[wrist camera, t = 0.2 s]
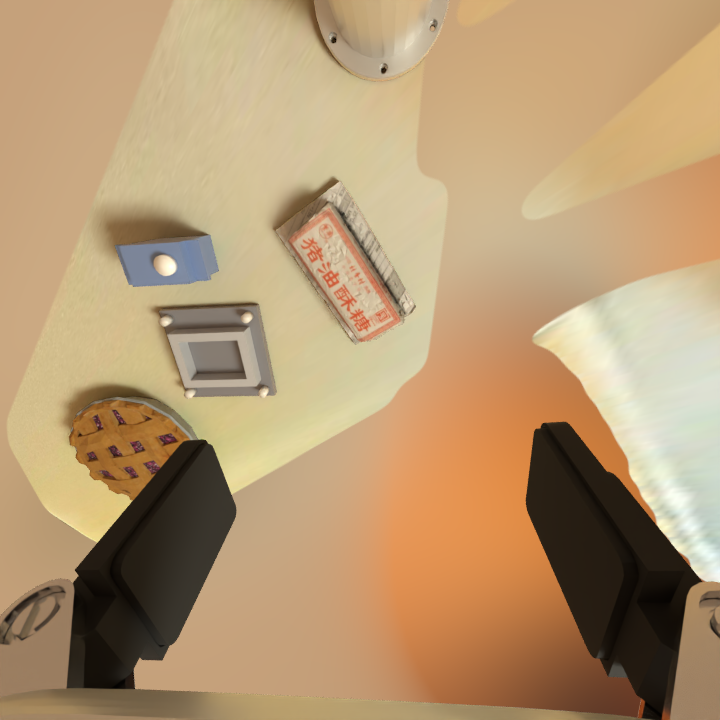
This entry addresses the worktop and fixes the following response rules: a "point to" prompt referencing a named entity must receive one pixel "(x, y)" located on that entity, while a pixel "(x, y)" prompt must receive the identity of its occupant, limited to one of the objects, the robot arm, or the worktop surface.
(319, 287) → the packaged product
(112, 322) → the worktop surface
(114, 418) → the pie
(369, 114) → the worktop surface
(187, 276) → the block
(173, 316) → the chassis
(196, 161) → the worktop surface
